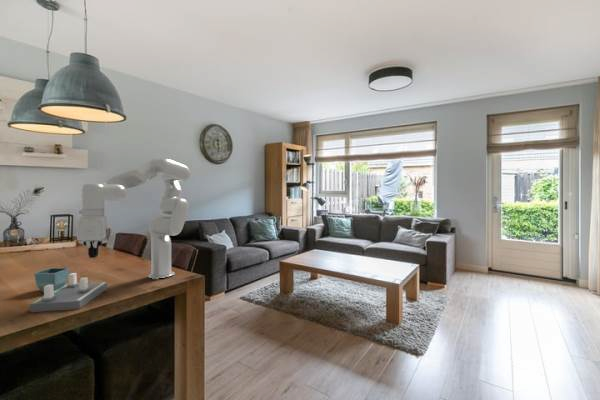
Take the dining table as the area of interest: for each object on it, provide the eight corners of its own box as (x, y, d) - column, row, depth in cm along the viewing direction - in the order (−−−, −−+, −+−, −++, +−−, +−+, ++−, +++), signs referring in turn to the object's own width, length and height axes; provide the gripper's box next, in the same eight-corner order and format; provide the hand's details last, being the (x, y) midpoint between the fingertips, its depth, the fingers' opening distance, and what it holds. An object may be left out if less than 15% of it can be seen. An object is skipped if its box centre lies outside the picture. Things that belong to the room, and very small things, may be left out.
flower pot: (70, 286, 133) (70, 267, 132) (54, 293, 124) (54, 273, 124) (51, 287, 132) (50, 267, 132) (33, 293, 123) (33, 273, 123)
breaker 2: (71, 284, 126) (71, 272, 126) (79, 284, 126) (78, 272, 126) (66, 287, 122) (66, 275, 122) (74, 286, 123) (74, 274, 123)
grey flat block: (67, 290, 127) (67, 283, 127) (107, 288, 130) (107, 281, 130) (30, 312, 105) (30, 303, 104) (79, 308, 108) (79, 300, 108)
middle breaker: (82, 289, 120) (82, 277, 120) (90, 288, 120) (90, 276, 120) (77, 292, 116) (77, 279, 116) (85, 291, 117) (85, 279, 117)
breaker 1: (47, 297, 110) (47, 284, 110) (56, 297, 111) (56, 283, 111) (41, 301, 107) (41, 287, 106) (50, 300, 107) (50, 286, 107)
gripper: (67, 213, 113) (67, 259, 113) (109, 213, 116) (109, 258, 116) (78, 212, 120) (77, 255, 120) (117, 212, 123) (117, 254, 124)
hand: (93, 257), depth 118 cm, fingers closed
